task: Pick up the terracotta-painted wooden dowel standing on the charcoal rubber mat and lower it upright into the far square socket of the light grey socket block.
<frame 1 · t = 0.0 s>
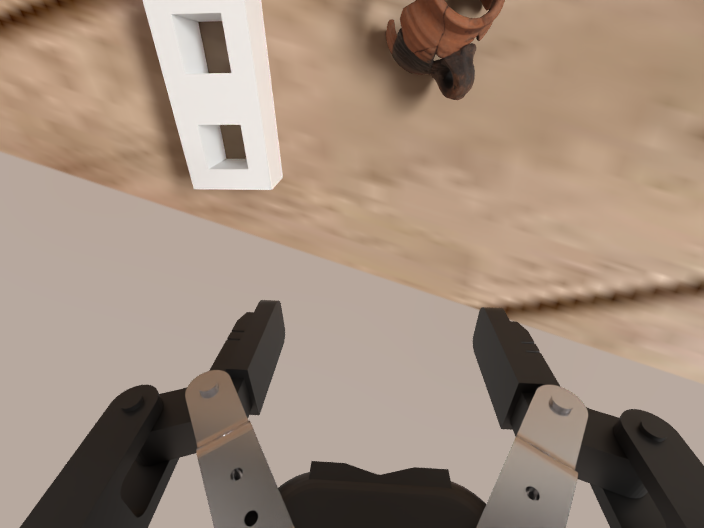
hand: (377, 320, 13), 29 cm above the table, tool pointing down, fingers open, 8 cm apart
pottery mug: (438, 32, 32), on the table
socket block: (233, 96, 36), on the table
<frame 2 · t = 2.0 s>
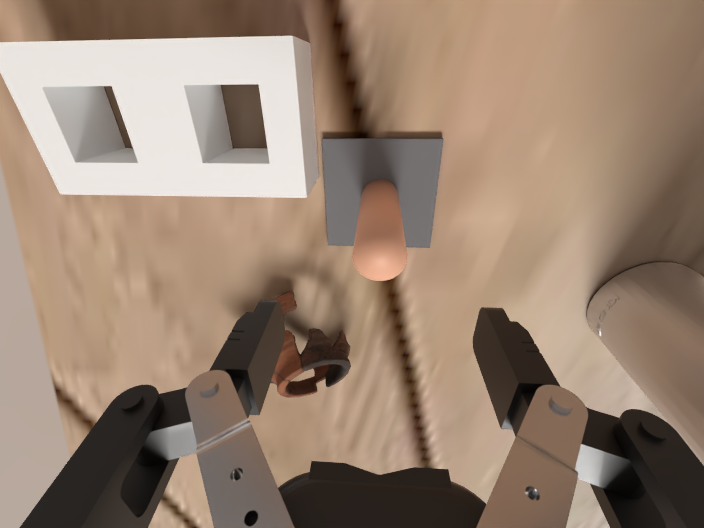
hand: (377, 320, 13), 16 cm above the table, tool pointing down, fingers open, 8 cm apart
mat: (379, 195, 26), on the table
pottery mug: (297, 328, 35), on the table
dowel: (379, 197, 26), resting on mat
socket block: (198, 117, 24), on the table
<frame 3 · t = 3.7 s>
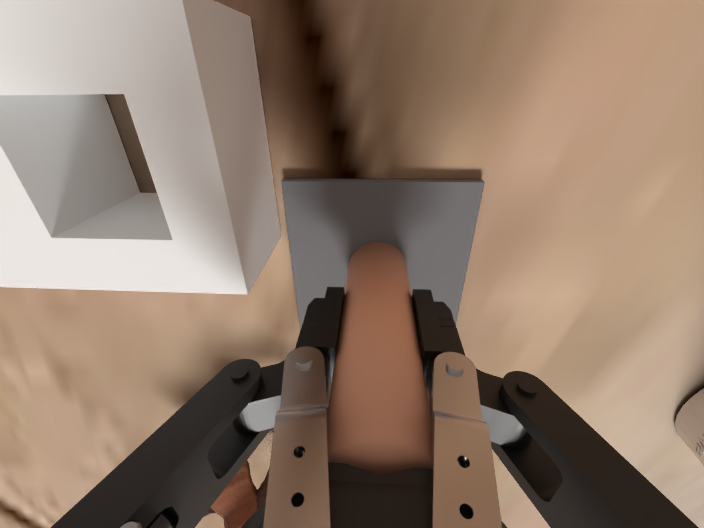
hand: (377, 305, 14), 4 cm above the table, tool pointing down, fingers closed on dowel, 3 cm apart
mat: (377, 263, 17), on the table
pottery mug: (263, 419, 25), on the table
dowel: (377, 267, 17), resting on mat, touching gripper
socket block: (75, 144, 15), on the table
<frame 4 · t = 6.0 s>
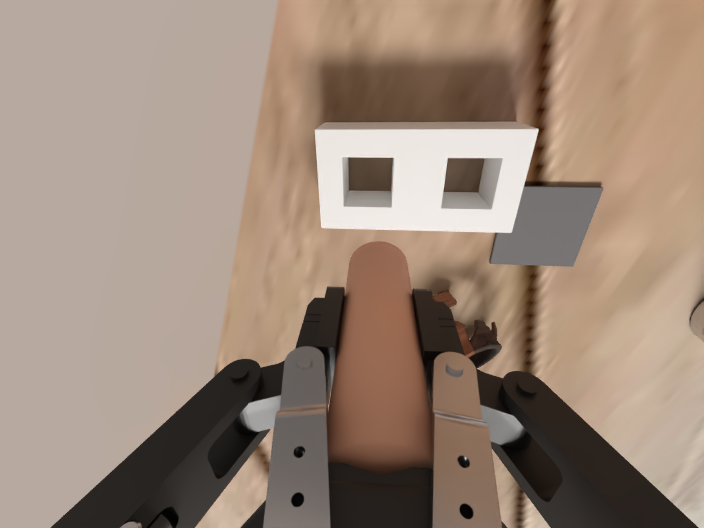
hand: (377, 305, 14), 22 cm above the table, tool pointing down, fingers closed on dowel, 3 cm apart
mat: (541, 227, 34), on the table
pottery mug: (442, 321, 43), on the table
dowel: (378, 267, 17), point 19 cm above the table, touching gripper
socket block: (414, 169, 33), on the table
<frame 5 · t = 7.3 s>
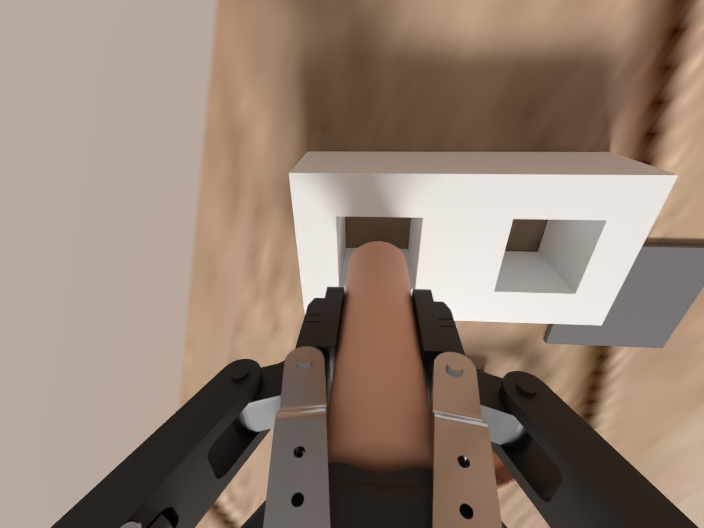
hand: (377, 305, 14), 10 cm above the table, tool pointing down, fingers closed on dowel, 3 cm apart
mat: (623, 297, 24), on the table
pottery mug: (471, 403, 32), on the table
dowel: (377, 267, 17), point 6 cm above the table, touching gripper
socket block: (444, 220, 22), on the table
when the fingers open (6 cm above the table, at t = 8.4 s): dowel drops 2 cm, resting in socket block.
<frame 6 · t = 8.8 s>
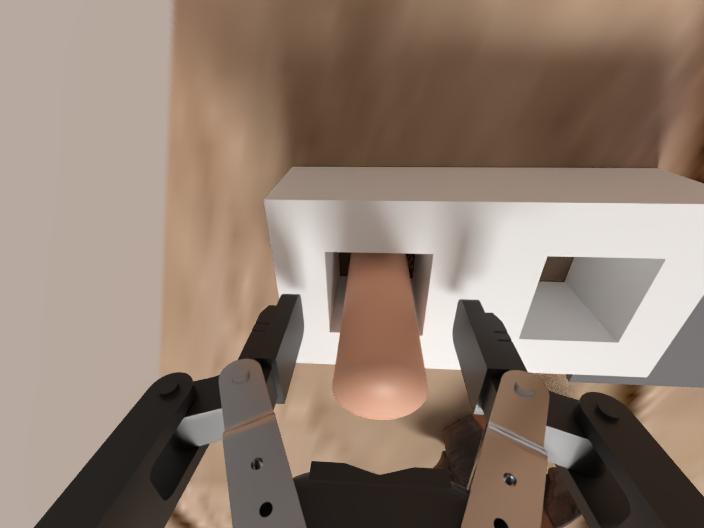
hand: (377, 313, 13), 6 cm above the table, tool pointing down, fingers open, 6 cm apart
mat: (661, 333, 21), on the table
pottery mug: (482, 438, 28), on the table
dowel: (378, 244, 19), resting in socket block
socket block: (455, 246, 18), on the table
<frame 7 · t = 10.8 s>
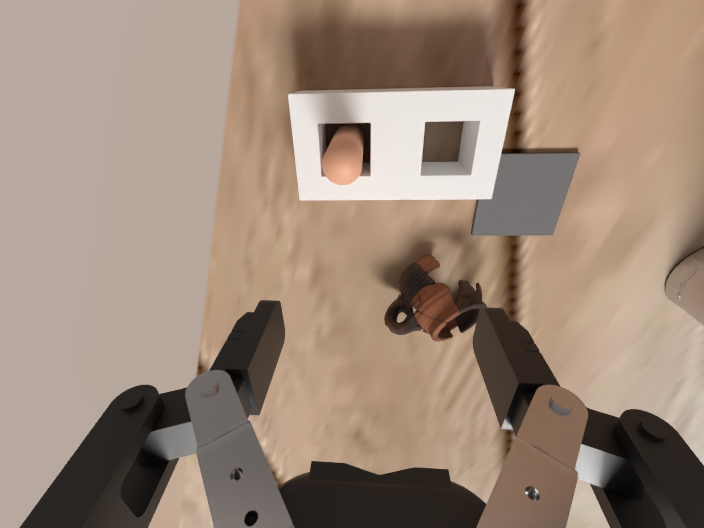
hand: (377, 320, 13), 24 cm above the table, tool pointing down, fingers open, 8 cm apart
mat: (520, 196, 35), on the table
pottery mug: (427, 287, 42), on the table
dowel: (348, 139, 32), resting in socket block
socket block: (392, 139, 32), on the table
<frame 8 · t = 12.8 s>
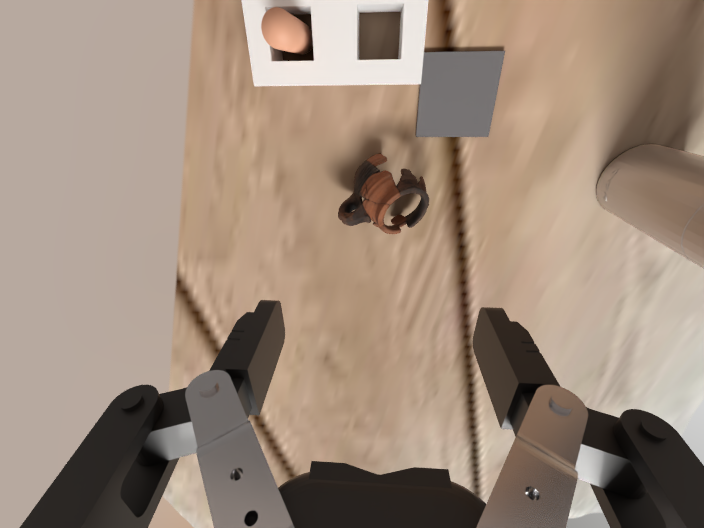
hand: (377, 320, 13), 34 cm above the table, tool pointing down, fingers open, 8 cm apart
mat: (456, 96, 39), on the table
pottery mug: (380, 190, 45), on the table
dowel: (301, 38, 37), resting in socket block
socket block: (339, 38, 36), on the table
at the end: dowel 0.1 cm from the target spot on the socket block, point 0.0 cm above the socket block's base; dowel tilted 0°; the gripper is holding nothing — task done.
